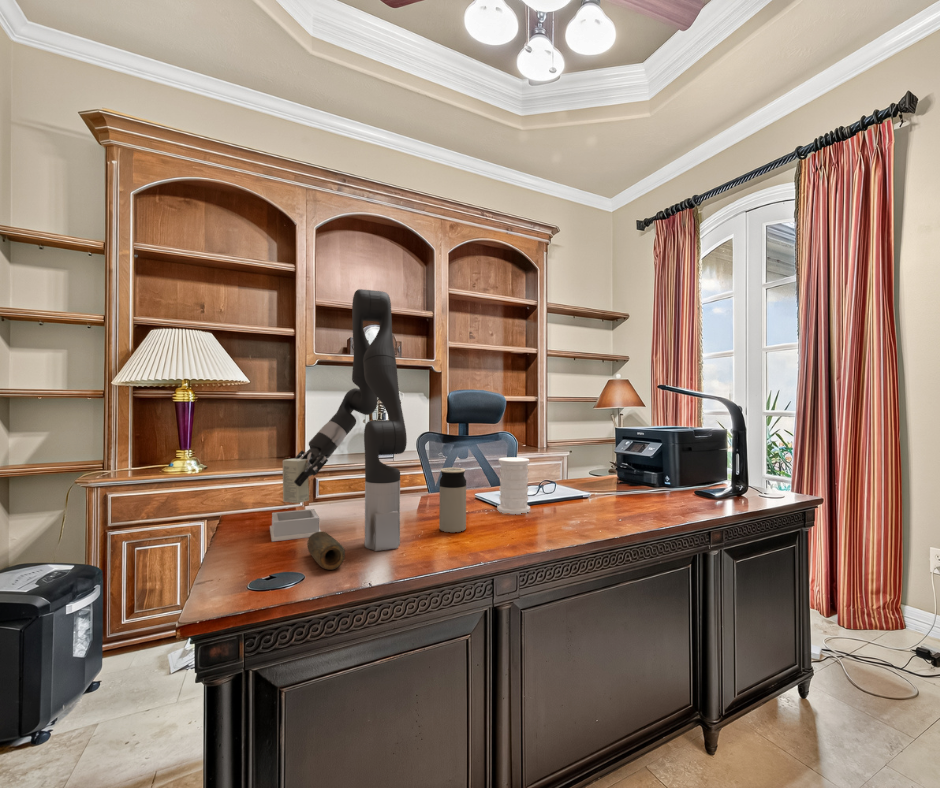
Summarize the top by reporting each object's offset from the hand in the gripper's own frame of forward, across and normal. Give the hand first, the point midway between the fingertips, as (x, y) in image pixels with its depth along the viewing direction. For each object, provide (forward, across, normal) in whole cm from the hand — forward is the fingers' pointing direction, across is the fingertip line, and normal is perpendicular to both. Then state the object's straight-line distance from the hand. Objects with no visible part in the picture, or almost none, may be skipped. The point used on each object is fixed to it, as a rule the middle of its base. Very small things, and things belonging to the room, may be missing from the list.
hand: (290, 482), depth 134 cm
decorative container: (-37, +28, +59) cm, 75 cm away
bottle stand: (+10, 0, +11) cm, 15 cm away
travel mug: (-15, +30, +36) cm, 49 cm away
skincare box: (+3, 0, +5) cm, 6 cm away
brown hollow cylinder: (+14, +29, +7) cm, 33 cm away
